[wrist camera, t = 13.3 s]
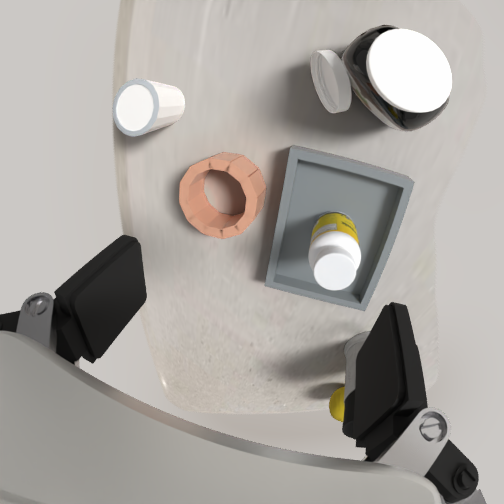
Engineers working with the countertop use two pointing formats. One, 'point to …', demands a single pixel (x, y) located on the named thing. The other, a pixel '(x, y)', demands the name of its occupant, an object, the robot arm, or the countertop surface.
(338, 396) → the lemon
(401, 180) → the tray
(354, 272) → the supplement bottle
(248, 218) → the terracotta faceted ring
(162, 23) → the countertop surface
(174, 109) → the white tapered cup
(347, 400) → the glass holder
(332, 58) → the spread jar
